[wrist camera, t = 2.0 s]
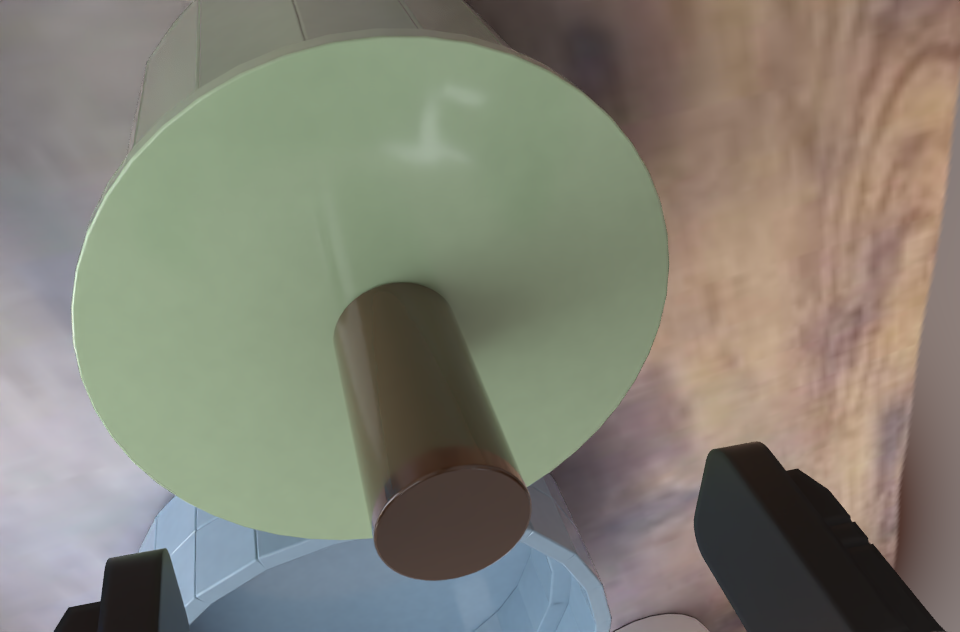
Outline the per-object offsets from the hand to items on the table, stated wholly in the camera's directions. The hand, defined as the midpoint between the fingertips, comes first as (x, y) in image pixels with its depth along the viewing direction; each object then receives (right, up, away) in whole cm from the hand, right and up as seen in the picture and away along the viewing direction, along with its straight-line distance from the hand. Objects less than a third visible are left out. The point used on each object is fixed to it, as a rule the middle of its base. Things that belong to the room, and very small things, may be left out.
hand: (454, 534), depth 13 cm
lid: (-1, +3, +4) cm, 6 cm away
